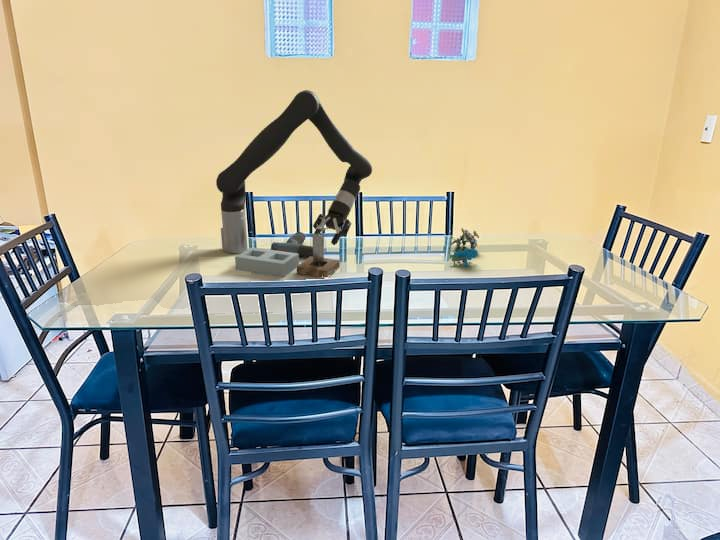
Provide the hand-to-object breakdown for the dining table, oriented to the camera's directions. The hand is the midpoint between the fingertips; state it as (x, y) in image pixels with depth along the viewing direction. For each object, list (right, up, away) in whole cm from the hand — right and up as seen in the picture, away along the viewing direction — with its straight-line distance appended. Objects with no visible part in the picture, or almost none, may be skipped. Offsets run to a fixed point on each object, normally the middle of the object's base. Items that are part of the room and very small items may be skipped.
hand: (323, 241), depth 181 cm
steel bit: (-2, -11, +1) cm, 11 cm away
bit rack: (-21, -10, +4) cm, 23 cm away
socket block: (-2, -11, +1) cm, 11 cm away
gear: (+53, -8, +11) cm, 55 cm away
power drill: (-11, -3, +24) cm, 27 cm away
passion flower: (+57, -2, +27) cm, 63 cm away
